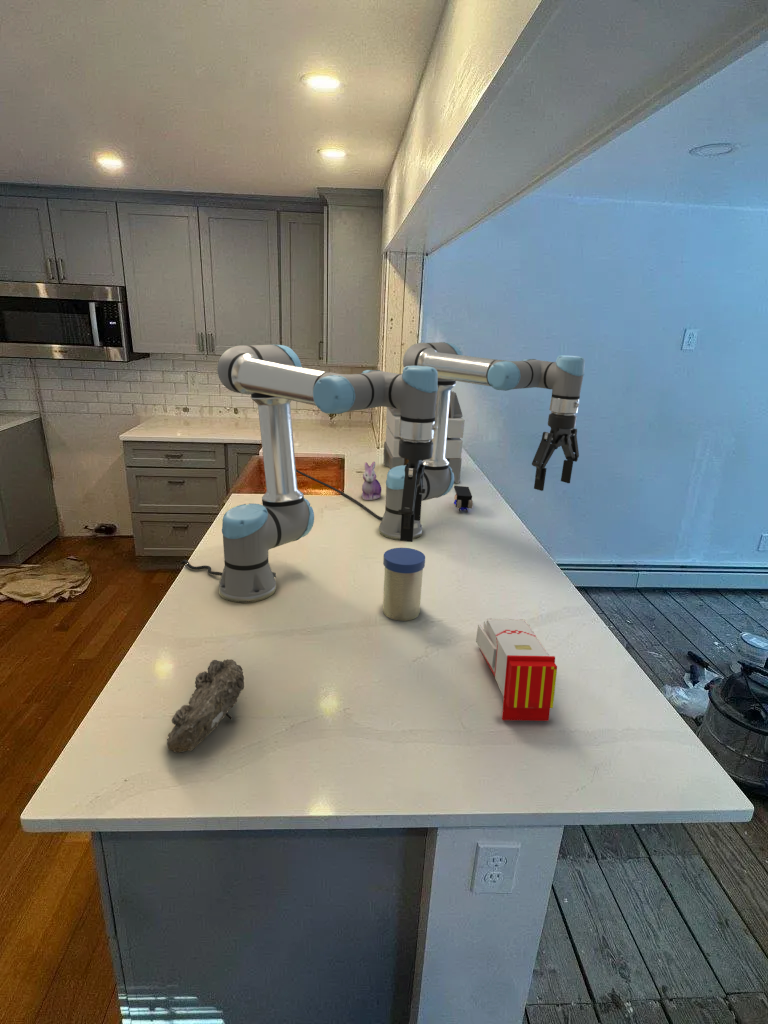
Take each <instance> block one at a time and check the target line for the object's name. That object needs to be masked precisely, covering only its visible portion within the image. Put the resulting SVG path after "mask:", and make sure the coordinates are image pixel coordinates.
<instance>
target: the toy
mask: <svg viewBox="0 0 768 1024" xmlns="http://www.w3.org/2000/svg"><path fill="white" fill-rule="evenodd" d="M476 629H477V631H476V638H475V642H476V645H477V646H478V648H479V650H480V652H481V654H482V656H483V658H484V660H485V661H486V664H487V666H488V668H489V669H490V671H491V672H492V675H493V676H494V679H495V681H496V685H497V686H498V688H499V690H500V692H501V695H502V697H503V701H502V712H501V720H502V721H521V722H523V721H526V722H528V721H529V722H550V712H551V709H554V702H555V692H556V681H557V673H558V665H557V664H556V656H555V655H550V654H549V652H548V651H547V650H546V648H545V647H544V645H543V644H542V642H541V641H540V639H539V638H538V637H537V635H536V634H535V632H534V631H533V629H532V627H531V625H530V624H528V623H527V621H526V619H521V618H518V619H515V618H513V619H512V618H486V620H484V621H483V626H482V625H481V624H477V628H476Z"/></svg>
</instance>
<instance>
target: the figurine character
mask: <svg viewBox="0 0 768 1024" xmlns="http://www.w3.org/2000/svg"><path fill="white" fill-rule="evenodd" d="M453 488H454V492H455V495H454V499H453V500H454V502H453V504H454V505H455V508H456V509H458V512H459V513H462V511H465V512H466V513H469V510H468V509H470V510H471V509H473V507H474V503H473V502H474V501H473V495H472V492H471V489H470V486H463V485H453Z"/></svg>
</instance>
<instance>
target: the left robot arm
mask: <svg viewBox="0 0 768 1024" xmlns="http://www.w3.org/2000/svg"><path fill="white" fill-rule="evenodd" d="M216 366H217V367H216V371H217V377H218V379H219V381H220V382H221V385H223V387H225V388H226V389H227V390H228V391H231V392H233V393H238V394H243V395H250V399H251V400H252V401H253V402H254V403H256V405H257V411H258V420H259V430H260V431H259V432H260V441H261V450H262V458H263V470H264V478H265V479H264V480H265V488H266V492H265V493H264V494H263V495H262V496H261V504H259V503H247V504H245V503H243V504H239V505H236V506H233V507H231V508H229V509H228V510H227V511H225V514H223V517H222V523H221V524H222V525H221V526H222V527H221V533H222V543H223V546H222V547H223V559H224V568H223V570H222V572H221V571H213V570H212V567H211V566H210V565H198V566H194V565H192V564H191V563H190V562H189V560H187V559H183V560H182V561H181V562H180V564H182V565H184V564H185V565H186V564H187V563H188V564H187V565H186V566H187V567H188V568H189V569H190V570H193V571H197V570H207V574H209V575H211V576H219V577H220V581H219V583H218V593H219V596H220V597H221V598H223V599H224V600H226V601H229V602H233V603H239V604H240V603H242V604H246V603H247V604H248V603H255V602H259V601H263V600H266V599H268V598H269V597H271V596H273V594H274V593H275V592H276V590H277V581H276V578H277V573H276V571H275V572H274V571H273V570H272V567H271V566H270V562H269V551H270V550H272V549H275V548H277V547H278V548H279V547H280V546H283V545H286V544H288V543H289V544H290V543H293V542H297V541H298V540H300V539H301V538H304V537H307V535H309V533H310V532H311V531H312V528H313V527H314V523H315V512H314V508H313V507H312V506H311V503H310V501H309V500H308V499H307V498H305V496H304V495H305V494H304V493H303V492H302V491H301V490H300V489H299V488H298V477H297V472H296V469H297V465H296V456H295V455H296V454H295V441H294V433H293V431H294V430H293V421H292V420H293V419H292V409H291V402H296V403H301V404H306V405H311V406H316V407H317V409H319V410H320V412H322V413H324V414H327V415H331V414H334V415H341V414H344V413H349V412H354V411H355V412H356V411H360V410H367V409H374V408H381V407H383V408H387V407H390V408H396V409H401V413H400V415H401V417H400V429H399V436H400V438H402V439H400V440H399V453H398V454H399V456H400V457H402V458H404V459H407V460H409V462H408V463H407V465H406V466H405V465H404V466H405V478H404V488H403V497H402V505H401V510H398V513H400V514H402V518H401V536H400V540H399V541H400V542H408V543H413V542H414V539H413V531H414V520H416V521H420V522H421V516H422V515H421V514H422V502H423V501H422V494H420V493H423V494H425V489H423V487H424V485H423V474H424V464H423V461H424V460H428V459H430V458H431V457H432V455H433V441H432V439H433V438H434V430H437V426H436V425H434V423H435V409H436V399H437V391H438V387H437V386H438V372H437V370H436V369H435V368H433V367H428V366H406V367H404V366H403V369H402V373H396V372H390V371H384V370H383V371H382V370H380V369H366V370H363V371H362V372H361V373H352V374H351V373H350V374H349V373H348V374H342V373H337V372H330V371H326V370H319V369H314V368H308V367H303V366H302V362H301V360H300V357H299V356H298V355H297V353H296V352H295V351H294V350H293V349H292V348H291V347H290V346H287V345H284V344H274V343H271V344H254V345H253V344H251V345H250V344H249V345H245V344H244V345H243V344H241V345H236V346H232V347H230V348H228V349H226V350H225V351H224V352H223V353H222V354H221V356H220V358H219V359H218V362H217V365H216ZM405 507H407V508H410V509H407V508H405Z"/></svg>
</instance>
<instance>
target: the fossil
mask: <svg viewBox="0 0 768 1024" xmlns="http://www.w3.org/2000/svg"><path fill="white" fill-rule="evenodd" d="M243 670H244V669H243V667H242V665H240V664H237V662H236V661H235V660H234V659H232V658H231V659H227V658H226V659H224V660H223V661H222V660H217V659H212V660H211V661H210V663H209V665H208V666H207V671H201V672H199V673H198V674H197V675H196V676H195V680H194V684H195V685H194V687H195V689H194V690H193V693H192V694H191V697H190V698H189V700H188V704H184V705H182V706H181V707H180V709H177V710H176V711H175V713H174V715H173V716H172V718H171V723H172V724H173V727H172V730H171V731H170V732H168V734H167V738H166V741H167V742H166V745H167V749H168V750H169V751H173V752H174V753H176V754H178V753H182V752H188V751H189V752H192V751H193V750H195V748H196V747H197V746H199V744H200V743H201V742H203V741H204V740H205V739H206V738H207V737H208V736H209V735H210V734H211V733H212V732H214V730H215V729H217V727H218V726H219V724H220V722H221V721H222V720H223V719H224V718H225V716H226V717H227V719H229V720H233V717H232V715H230V714H229V710H230V709H231V708H234V706H235V704H236V703H237V702H238V699H239V697H240V695H241V693H242V691H243V690H245V689H244V688H245V675H244V671H243Z"/></svg>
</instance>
